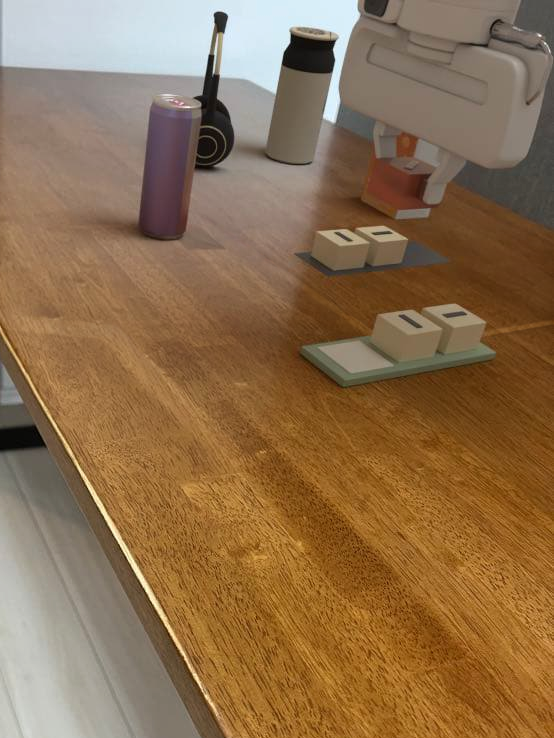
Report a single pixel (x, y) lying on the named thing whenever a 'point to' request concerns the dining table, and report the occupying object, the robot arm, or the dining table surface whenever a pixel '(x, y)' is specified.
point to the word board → (404, 346)
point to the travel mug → (301, 95)
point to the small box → (404, 148)
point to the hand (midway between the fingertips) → (404, 189)
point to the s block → (399, 182)
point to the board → (366, 251)
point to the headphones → (214, 107)
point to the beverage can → (169, 165)
